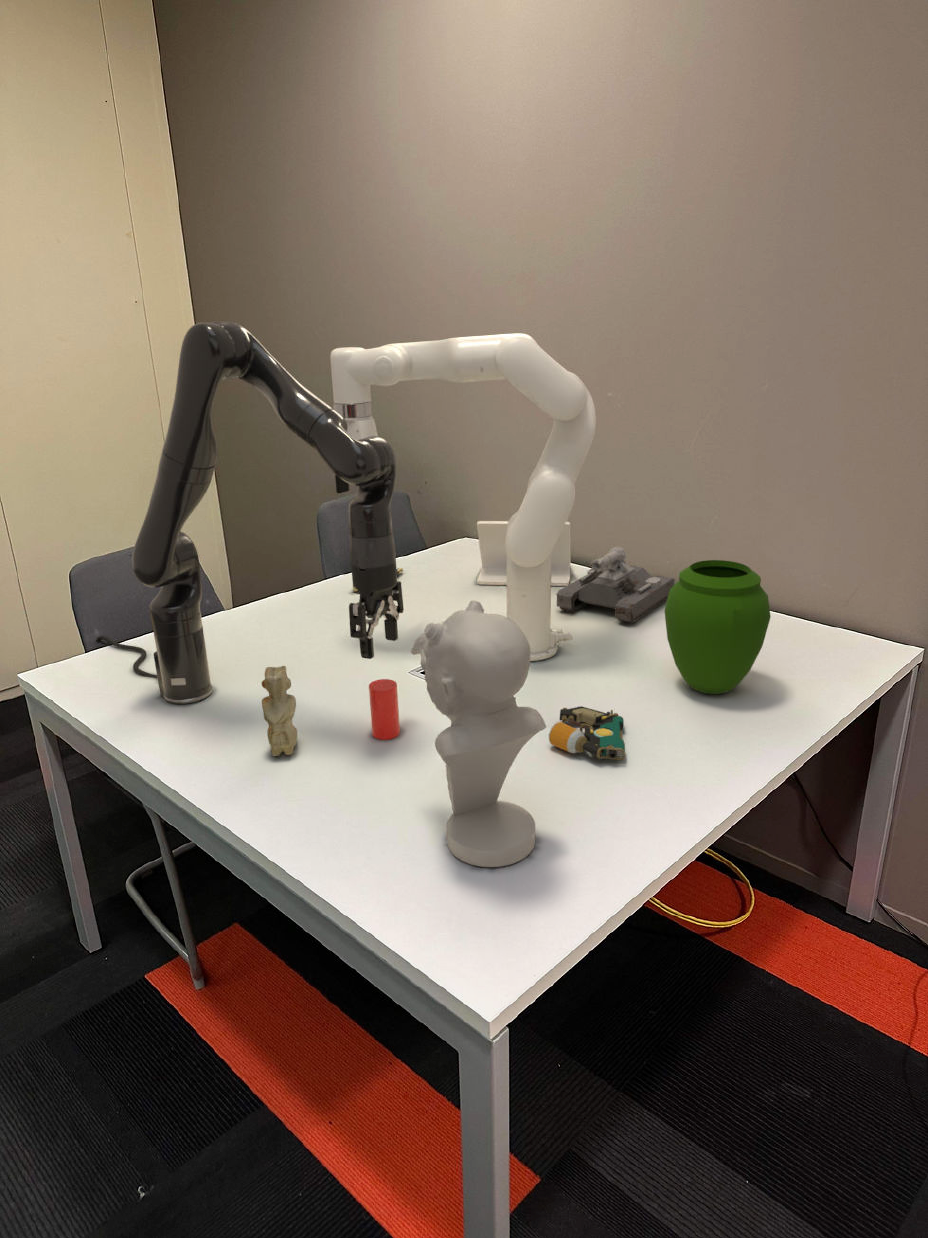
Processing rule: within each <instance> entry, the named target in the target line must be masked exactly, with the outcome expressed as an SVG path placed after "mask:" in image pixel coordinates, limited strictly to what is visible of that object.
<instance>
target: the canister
mask: <svg viewBox="0 0 928 1238" xmlns="http://www.w3.org/2000/svg"><path fill="white" fill-rule="evenodd" d="M368 694H369V708H370V721H371V734H372V737H373V738H375V739H377V740H382V741H386V740H392V739H396V738H397V737H399V735H400V734H401V730H400V729H401V727H400V715H399V714H400V713H399V712H400V710H399V695H398V683H397V681H395V680H393V679H389V678H380V679H376V680H373V681H371V682H370V683H369V684H368Z"/></svg>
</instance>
